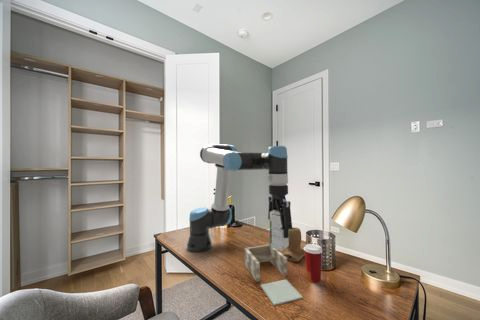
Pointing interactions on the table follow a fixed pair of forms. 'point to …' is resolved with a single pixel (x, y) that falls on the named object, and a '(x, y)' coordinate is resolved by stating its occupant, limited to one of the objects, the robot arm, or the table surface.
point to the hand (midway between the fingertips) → (279, 241)
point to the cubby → (263, 259)
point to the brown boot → (294, 245)
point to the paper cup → (313, 262)
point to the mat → (280, 292)
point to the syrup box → (276, 231)
